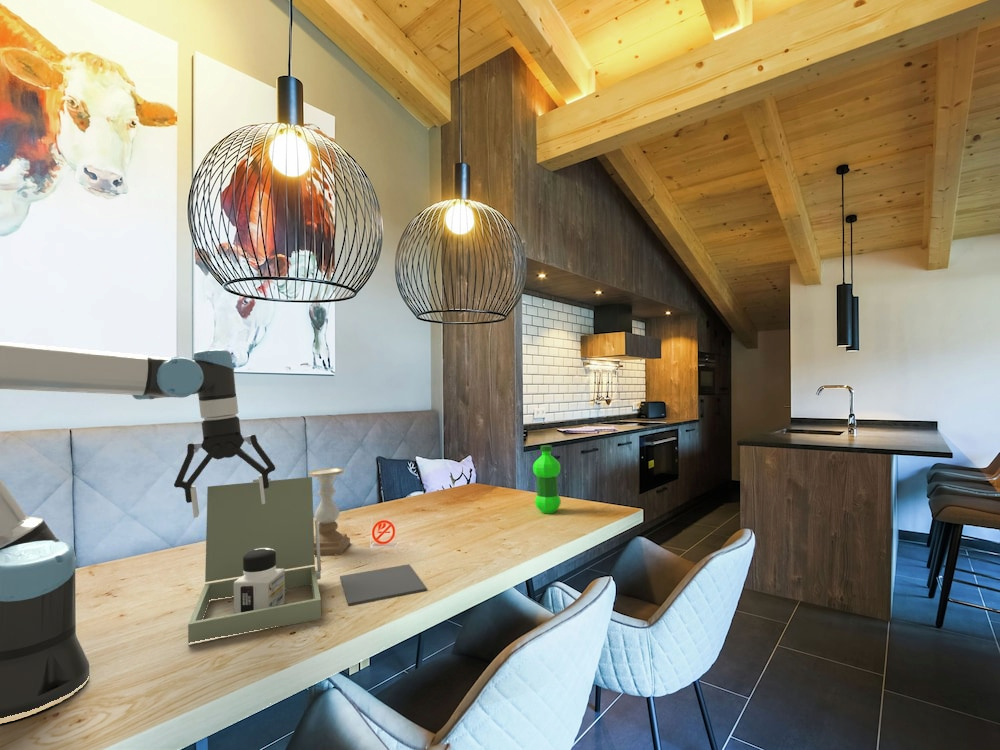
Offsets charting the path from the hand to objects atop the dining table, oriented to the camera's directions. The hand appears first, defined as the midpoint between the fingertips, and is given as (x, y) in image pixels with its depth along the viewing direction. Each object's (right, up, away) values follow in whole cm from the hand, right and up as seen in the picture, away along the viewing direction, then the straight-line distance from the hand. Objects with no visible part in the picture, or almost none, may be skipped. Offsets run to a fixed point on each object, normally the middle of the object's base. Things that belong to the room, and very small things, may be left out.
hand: (230, 509), depth 113 cm
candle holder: (+9, -23, +37) cm, 44 cm away
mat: (+33, -21, +9) cm, 40 cm away
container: (+9, -22, -4) cm, 23 cm away
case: (+9, -21, -2) cm, 23 cm away
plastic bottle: (+80, -21, +74) cm, 112 cm away
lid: (+3, -6, +9) cm, 12 cm away
